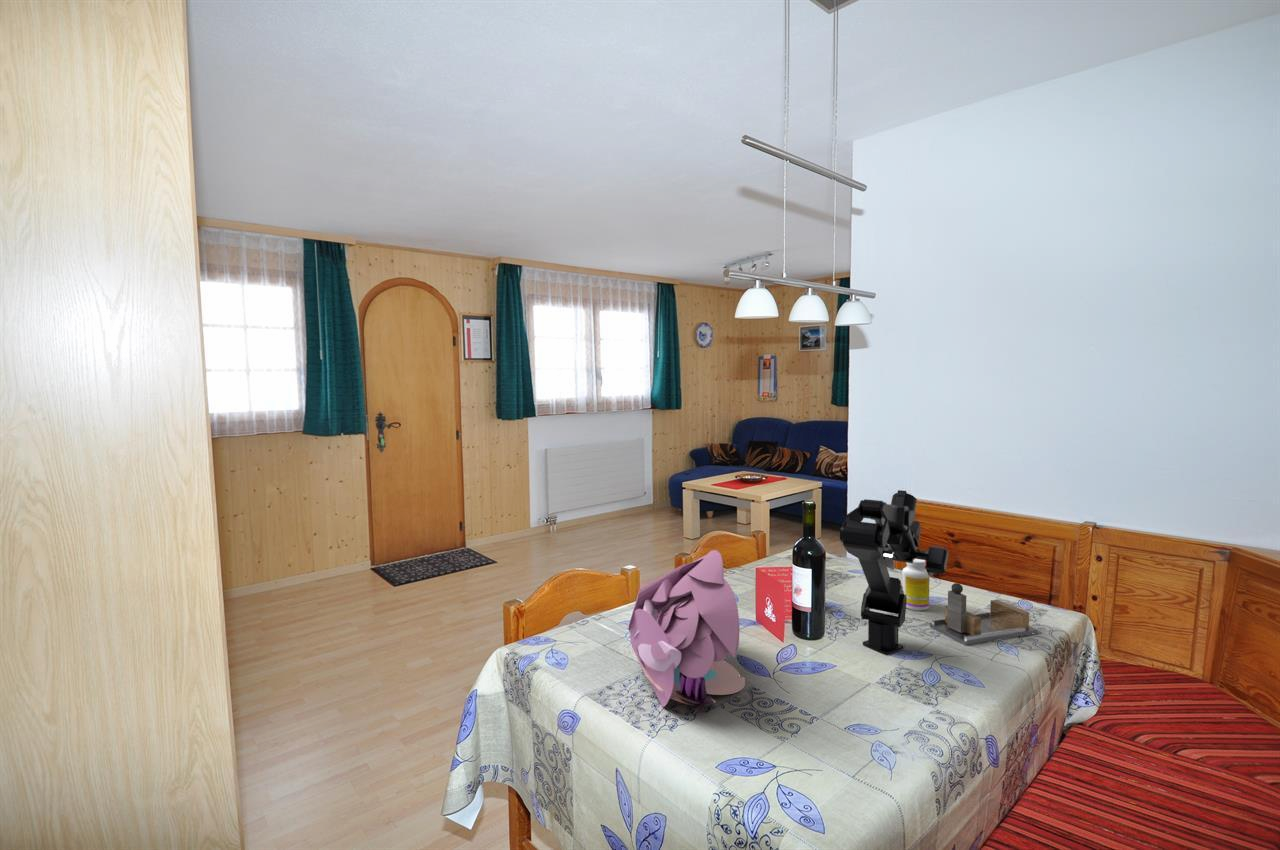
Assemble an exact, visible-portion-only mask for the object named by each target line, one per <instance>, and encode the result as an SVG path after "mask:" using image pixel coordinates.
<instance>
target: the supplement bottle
mask: <svg viewBox="0 0 1280 850" xmlns="http://www.w3.org/2000/svg"><path fill="white" fill-rule="evenodd" d="M926 561H927V560H921V559H914V560H913V563H907V562H905V564H906V566H905V567H904V568H903V569H902V571H901V585H902V586H903V591H904V594H905V595H906V597H907V603H906V609H908V610H912V611H918V612H919V611H926V610H928V609H929V608H930V576H929V575H928V573H927V568H925V567H926Z"/></svg>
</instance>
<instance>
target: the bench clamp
mask: <svg viewBox="0 0 1280 850" xmlns="http://www.w3.org/2000/svg"><path fill="white" fill-rule="evenodd" d="M972 614H973V615H976V616H978V617H980V618H981V634H975V635H971V634H969V633H967V632H963V633H960V632H958V631H956V630H954V629H952V628H950V627H948V626H947V623H946V622H945V617H941V618H936V619H935V618H933V619H932V620H931V622H930V623H929V628H931V629H932V630H935V631H936V632H939V633H941V634H942V635H945V636H947V637H948V638H950V639H952V640H954V641H956V642H957V643H960V644H961V643H962V644H961V645H963V644H964V646H965V645H966V646H972V645H977V643H978V644H983V642H984V643H990V642H989V641H991V642H995V641H994V640H997V641H999V640H998V639H1003V640H1006V639H1005V638H1009V639H1013V637H1015V638H1019V637H1018V636H1021V637H1024V636H1023V635H1027V636H1029V635H1028V634H1032V633H1037V632H1038V629H1037V628H1035V627H1032V626H1030V612H1029V611H1028V610H1024V609H1021V608H1019V607H1017V606H1013V605H1012V604H1009V603H1006V602H1005V601H1002V600H999V599H992V600H991V599H990V610H989V611H983V612H982V611H981V612H976V613H972ZM971 644H972V645H971Z"/></svg>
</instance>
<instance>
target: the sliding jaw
mask: <svg viewBox="0 0 1280 850" xmlns="http://www.w3.org/2000/svg"><path fill="white" fill-rule="evenodd" d="M950 587H951V590H947V605H945V609H944V611H945V612H944V613H945V614H944V615H945V616H944V618H945V622H946V623H947V626H948V627H950V628H952V629H954V630H956V631H958V632H960V633H963V632H967V633H969V634H971V635H975V634H981V618H980V617H978V616H976V615H973V614H974V613H971V612H968V611H967V595H966V594H964V593H962V592H963V591H964V587H963V585H962V584H960V583H957V582H956V583H953V584H952V585H951V586H950Z"/></svg>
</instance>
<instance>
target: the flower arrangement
mask: <svg viewBox="0 0 1280 850" xmlns="http://www.w3.org/2000/svg"><path fill="white" fill-rule="evenodd" d="M723 562H724V561H723V558H722V554H721V553H720V552H719V551H718V550H717V549H712V550H711V551H709V552H708V553H707V554H706V555H703V556H701V557H699V558H698V559H696V560H694V561H692V562H689V563H685V564H682V565H680V566H678V567H676V568H675V569H672V570H671V571H669V572H667V573H665V574H663V575H662V576H660V577H658V578H656V579H655V580H653V581H651V582H648V583H647V584H645V585H643V586H642V587H639V590H638V593H637V595H636V596H637V597H636V600H635V603H634V607H633V611H632V614H631V618H630V621H629V624H628V628H627V629H628V631H629V635H630V637H629V638H630V643H631V647H632V650H633V652H634V653H635V656H636V658H637V660H638V662H639V663H640V666H641V669H642V671H643V673H644V675H645V676H646V679H648V681H649V684H650V686H651V687H652V690H653V691H654V694H655V695H656V697H657V699H658V701H659V704H660V706H661V707H662V706H663V707H662V708H664V707H666V706H667V704H668V703H669V701H670V699H671V700H673V701H676V702H678V703H679V702H680V703H683V704H685V705H691V706H695V707H696V706H698V707H707V706H708V707H709V706H712V705H713V704H714V703H716V702H717V700H715V699H713V697H712V696H710V695H713V696H714V695H715V696H717V695H718V696H725V695H732V694H736V693H738V692H741V691H742V690H743V689H744V688H745V685H746V678H745V676H741V677H740V676H739V675H741V673H740V672H739V671H738V670H737V669H736V668H735V667H734V666H733V665H732V664H731V663H729V662H727V661H726V660H725V659H726V658H727V656H728V654H729V653H730V655H731V656H732V657H733V658H735V657H736V655H737V652H738V649H739V643H740V616H739V609H738V604H737V600H736V596H735V593H734V591H733V589H732V587H731V585H730V583H729V582H728V581H727V580H726V579H725V578H724V576H725V575H724V563H723Z"/></svg>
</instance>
